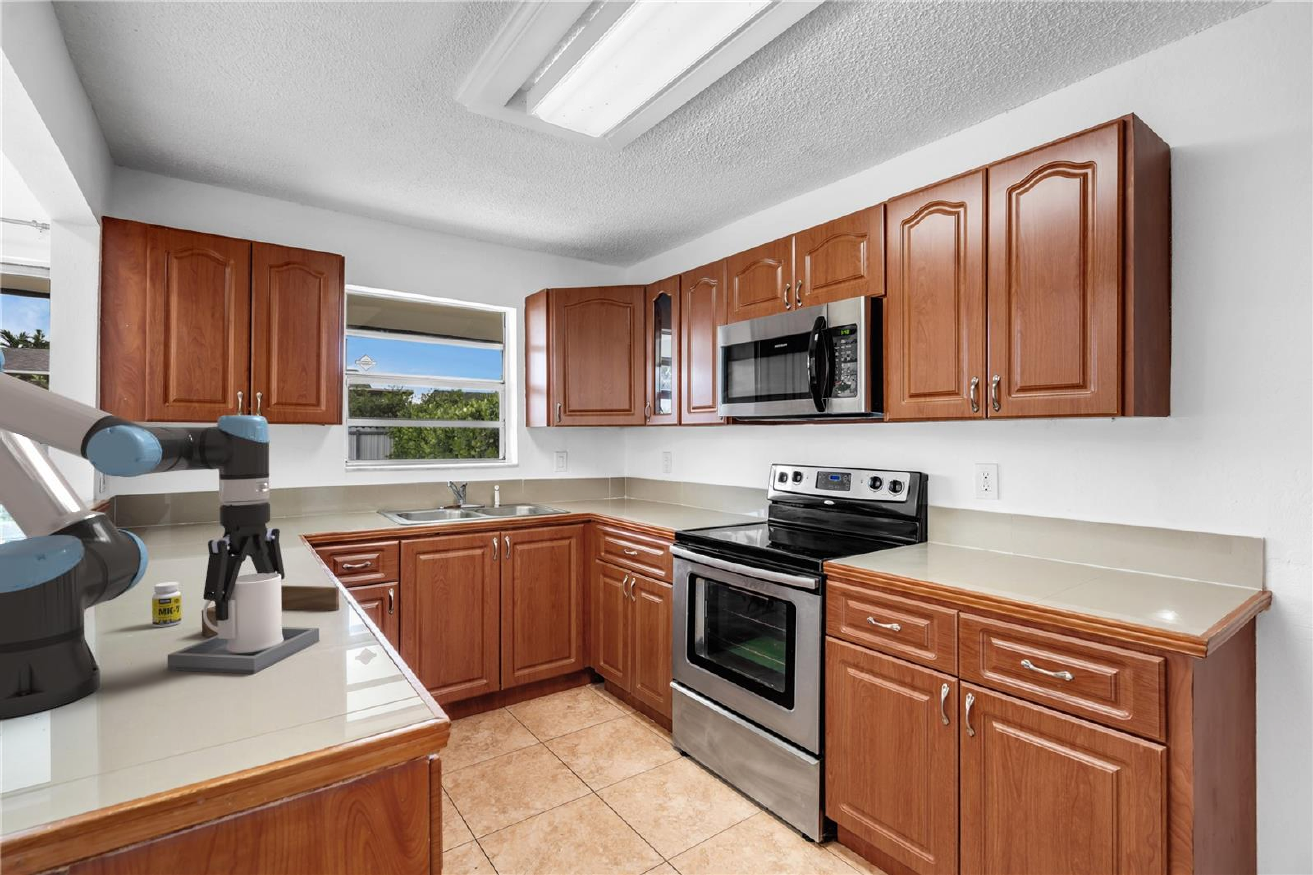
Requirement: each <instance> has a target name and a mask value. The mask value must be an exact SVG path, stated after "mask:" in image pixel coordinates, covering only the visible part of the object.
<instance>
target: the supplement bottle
mask: <svg viewBox="0 0 1313 875" xmlns="http://www.w3.org/2000/svg"><path fill="white" fill-rule="evenodd" d="M179 585H180V583H179V582H178V581H168V582H160V583H156V584H155V585H154V594H153V595H152V597H151V602H152V603H151V605H152V606H151V608H152V612H151V614H152V615H151V616H152V618H151V621H152V622H151V623H152V626H153V627H154V628H167V627H172V626H177V625H179V624H180V623H181V622H182V593H181V591H179V589H180V586H179Z"/></svg>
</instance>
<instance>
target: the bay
mask: <svg viewBox="0 0 1313 875" xmlns="http://www.w3.org/2000/svg"><path fill="white" fill-rule="evenodd" d="M339 589H340V588H339V586H321V585H320V586H317V585H313V586H312V585H282V584H281V604H282V610H306V611H307V610H308V611H312V610H313V611H338V610H340V594H339V593H340V590H339ZM203 610H204V609H202V610H201V631H202V632H201V636H202V637H214V636H217V635H218V633H217V632H215V631H213V630H211V629H210V628H209V627H208V626H207V625H206V623H205V621H204V618H203ZM206 614H207V618H208V620H209V622H210V623H211V624H213V625H214V626H216V627H218V621H216V618H215V615H216V614H215V605H214V606H213V605H212V606H211V607H208V608H207V612H206Z"/></svg>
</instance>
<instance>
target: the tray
mask: <svg viewBox="0 0 1313 875" xmlns="http://www.w3.org/2000/svg"><path fill="white" fill-rule="evenodd" d="M282 635H283V639H284V640H283V642H282V643H281V644H278V645H276V646H274V647H272V648H269V649H266V650H262V651H256V652H249V653H233V652H229V651H228V650H227V645H228V639H219V638H218V635H217V636H211V637H210V638H207V639H205V640H201V641H199V642H197V643H194V644H192V645H191V644H190V645H189V646H186V647H184V648H181V649H178V650H176V651H174V652H171V653H169V654H167V670H168V671H185V672H186V671H189V672H190V671H191V672H209V673H211V672H212V673H213V672H214V673H230V674H231V673H232V674H250V675H251V674H252V675H253V674H256V673H259V672H261V671H263V670H265V669H267V668H268V667H271V666H273V665H275V664H277V663H278V662H280V661H283V660H285V659H287V658H288V657H291V656H293V655H295V654H296V653H297V654H298V653H299V652H301V651H303V650H305V649H307V648H308V647H311V646H313V645H315V644H316V643H319V642H320V627H297V626H294V627H293V626H282Z"/></svg>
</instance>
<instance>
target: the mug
mask: <svg viewBox="0 0 1313 875" xmlns="http://www.w3.org/2000/svg"><path fill="white" fill-rule="evenodd" d="M281 585H282V583H281V575H280V574H277V572H275V573H269V574H267V573H259V574H257V573H252V574H244V575H238V577H237V580H236V583H235V586H234V589H233V592H232V596H231V600H235V625H236V638H233V639H228V645H227V650H228V651H229V652H233V653H249V652H256V651H262V650H266V649H269V648H272V647H274V646H276V645H278V644H281V643H282V642H283V640H284V639H283V635H282V627H283V625H282V624H283V619H282V617H283V616H282V614H283V612H282V610H283V609H282V604H281ZM223 594H224V591H223ZM211 603H212V601H210V600H206V602H205V603H204V607H203V609H202V610H203V618H204V621H205V623H206V625H207V626H208V627H209V628H210V629H211V630H213V631H215V632H217V633H218V627H216V626H214V625H213V624H211V623H210V622H209V620H208V618H207V614H206V612H207V608H209V605H210V604H211Z"/></svg>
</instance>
